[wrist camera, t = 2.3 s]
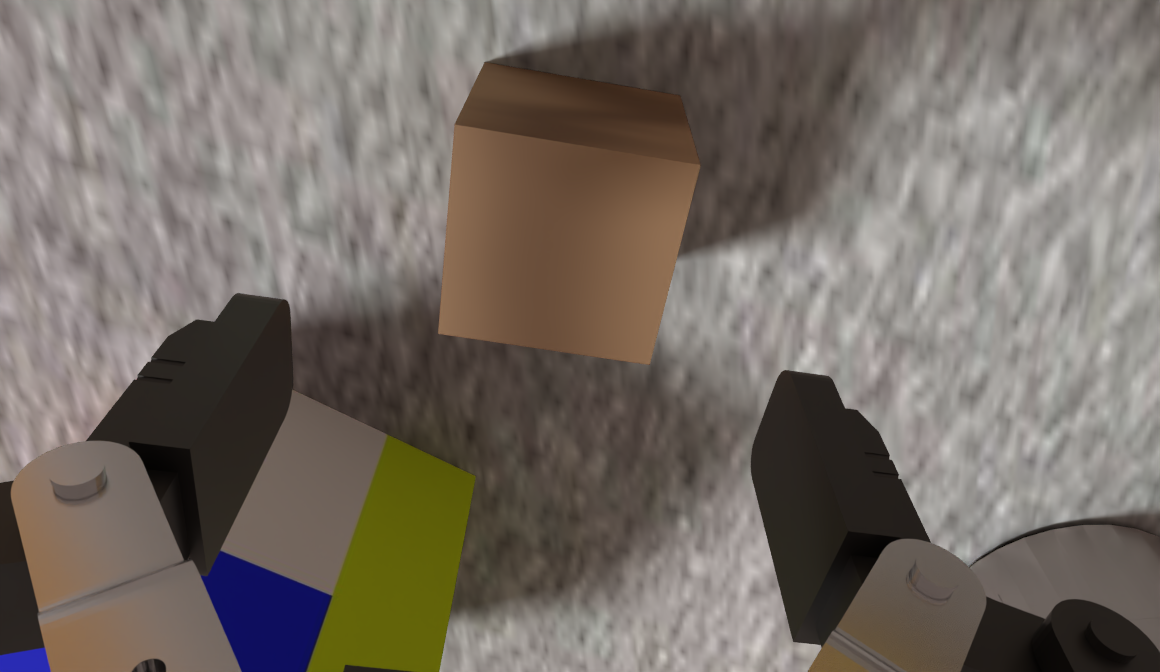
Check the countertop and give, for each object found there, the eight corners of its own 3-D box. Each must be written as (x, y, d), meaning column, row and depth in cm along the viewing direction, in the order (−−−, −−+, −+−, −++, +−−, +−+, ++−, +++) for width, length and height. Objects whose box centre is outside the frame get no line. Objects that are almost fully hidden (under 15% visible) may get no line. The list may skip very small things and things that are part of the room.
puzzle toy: (193, 340, 25) (-15, 606, 16) (476, 475, 28) (422, 761, 19) (106, 531, 29) (-91, 814, 21) (356, 629, 32) (270, 915, 24)
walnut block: (679, 94, 20) (700, 165, 16) (640, 266, 23) (649, 364, 19) (485, 61, 20) (454, 124, 16) (468, 239, 23) (438, 333, 19)
